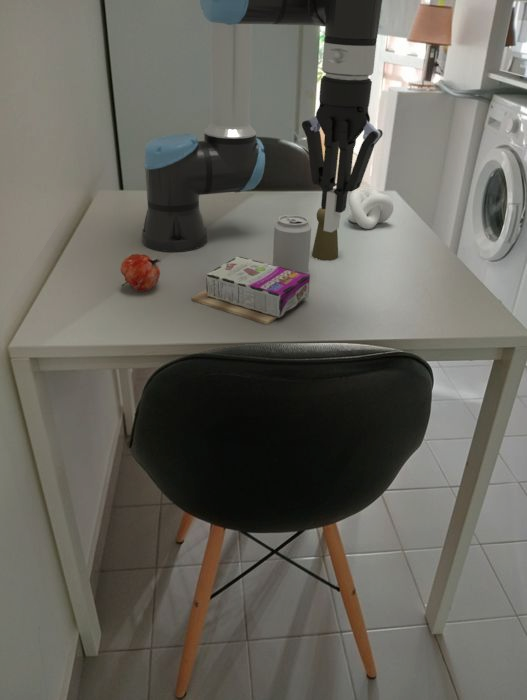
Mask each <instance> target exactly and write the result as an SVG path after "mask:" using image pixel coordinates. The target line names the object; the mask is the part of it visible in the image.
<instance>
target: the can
mask: <svg viewBox="0 0 527 700" xmlns="http://www.w3.org/2000/svg"><path fill="white" fill-rule="evenodd" d="M273 228H274V230H273V251H272V253H273V254H272V265H274V266H278V267H282V268H286V269H290V270H294V271H297V272H301V273H305V274H308V272H309V264H310V253H311V252H310V249H311V239H312V238H311V237H312V226H311V225H310V223H309V218H308V217H306V216H303V215H300V214H299V215H298V214H285V215H281V216H279V217H277V222H276V223H275V224H274V227H273Z"/></svg>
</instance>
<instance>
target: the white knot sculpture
mask: <svg viewBox="0 0 527 700" xmlns="http://www.w3.org/2000/svg"><path fill="white" fill-rule="evenodd" d="M348 197H349V198H348V199H349V200H348V204H349V208H348V209H349V210H348V214H347V215H348V216H347V217H348V220H349V221H350V222H352V224H353V223H354V224H356V223H357V225H359V227H360V228H363V229H365V230H371V229H373V228H374V227H376V225H377V224H381V223H385V222H386V221H388V220H389V219H390V218H391V216H392V214H393V212H394V204H393V200H392V198H391V197H390V196H389V195H387V194H385V193H382V192H380V190H379V189H378V188H377V187H375V186H368V187H366V188H363V189H362V190H360V189H356V190H354V191H352V192H350V194H349V196H348Z"/></svg>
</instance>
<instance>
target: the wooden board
mask: <svg viewBox="0 0 527 700" xmlns="http://www.w3.org/2000/svg"><path fill="white" fill-rule="evenodd" d="M191 301H192V302H194V303H195V302H196V303H199V304H201V305H204V306H208V307H211V308H214V309H217V310H220V311H223V312H227V313H230V314H232V315H235V316H239V317H241V318H242V317H243V318H245V319H249V320H251V321H255V322H257V323H261V324H264V325H270V324H271V323H272V322H274V320H276V319H279V318H278V317H275V316H271V315H268V314H265V313H261V312H258V311H255V310H251V309H248V308H245V307H242V306H238V305H235V304H231V303H228V302H224V301H221V300H218V299H214V298H211V297H207V288H206V289H203V291H201V292H199V293H198V294H196V295H193V296H192V297H191Z"/></svg>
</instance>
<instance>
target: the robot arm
mask: <svg viewBox="0 0 527 700" xmlns="http://www.w3.org/2000/svg"><path fill="white" fill-rule="evenodd" d="M199 4H200V7H201V10H202V12H203V16H204V18H205V19H206V20H207V21H209V22H210V124H209V125H208V126H207V127H206V128H205V129H204V131H203V132H204V136H203V137H204V140H199V139H198V137H197V136H196V135H194V134H190V133H173V134H168V135H163V136H159V137H156V138H154V139H151V140H150V141H149V142H148V143H147V144H146V146H145V147H144V163H143V165H144V171H145V184H146V186H145V187H146V200H147V212H146V215H145V218H144V223H143V228H142V229H141V230H142V231H141V239H142V241H141V242H142V244H143V245H144V246H146V247H147V248H149V249H152V250H157V251H160V252H173V253H174V252H185V251H186V252H187V251H192V250H196V249H199V248H201V247H203V246H205V244H207V243H208V231H207V228H206V226H205V222H204V221H203V216H202V213H201V210H200V195H201V196H203V195H215V194H224V193H225V194H226V193H235V194H236V193H241V192H244V191H251V190H254V189H255V188H256V187H257V186H258V185H259V183H260V182H261V180H262V178H263V175H264V171H265V165H266V154H265V152H264V151H265V146H264V145H263V142H262V141H261V139H259V138H257V132H256V130H255V129H254V128H253V127H252V126H251V124H250V123H251V122H250V118H251V83H252V81H251V80H252V78H251V77H252V76H251V75H252V46H253V45H252V40H253V39H252V38H253V25H278V26H279V25H281V26H282V25H283V26H317V27H324V40H323V41H324V42H323V50H322V51H323V52H322V65H321V71H322V72H323V73H324V74H325V75H323V76H322V77H321V78H320V86H319V107H318V109H317V110H316V113H315V114H316V115H315V116H313V117H312V118H310V119H306V120H304V121H302V123H301V127H302V130H303V132H304V135H305V136H306V141H307V151H308V158H309V165H310V166H309V167H310V173H311V182H312V184H313V185H318V186H319V187H320V188H321V191H322V193H321V203H320V204H321V205H320V206H321V207H320V208H322V209H325V220H324V230H323V231H327V232H331V233H332V232H333V231H335V230H336V229H337V230H338V229H339V228H340V219H341V214H342V213H343V212H344V211H345V210H346V209H347V203H348V202H347V199H348V193H349V192H350V193H352V192H353V191H355V190H358V189H359V188H360V187H361V184H362V181H363V178H364V176H365V173H366V170H367V168H368V165H369V163H370V159H371V157H372V153H373V151H374V148H375V145H376V144H378V142H379V140H380V139H381V138H382V137H383V131H382V129H376V128H375V127H374V125H373V124H371V118H370V114H369V106H370V100H371V93H372V92H371V91H372V85H373V84H372V83H373V81H372V80H371V78H369V77H370V76H372V75H373V74H374V68H375V67H374V66H375V58H376V52H377V51H376V50H377V41H378V34H379V27H380V26H379V25H380V21H381V12H382V5H383V0H199ZM320 130H321V131H322V132H323V135H324V143H322V137H321V131H320ZM362 133H363V135H362V139H363V141H362V142H361V146H360V147H359V149H358V150H359V151H358V153H357V156H356V159H355V162H354V165H353V160H354V159H353V158H354V149H355V146H356V144H357V138H358V137H359V136H361V134H362ZM323 145H324V152H323ZM352 166H353V167H352Z"/></svg>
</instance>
